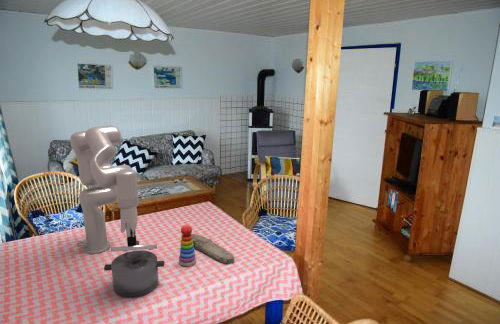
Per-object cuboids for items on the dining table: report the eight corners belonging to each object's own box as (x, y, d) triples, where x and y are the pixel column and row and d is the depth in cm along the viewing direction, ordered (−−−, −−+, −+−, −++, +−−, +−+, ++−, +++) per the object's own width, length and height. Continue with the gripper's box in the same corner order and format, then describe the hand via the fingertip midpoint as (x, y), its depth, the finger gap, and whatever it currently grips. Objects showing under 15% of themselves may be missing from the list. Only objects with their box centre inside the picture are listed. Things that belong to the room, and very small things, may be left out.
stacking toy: (199, 262, 165) (198, 226, 161) (185, 269, 160) (183, 231, 155) (189, 256, 171) (188, 220, 166) (175, 262, 165) (174, 225, 161)
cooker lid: (105, 251, 135) (106, 242, 136) (116, 251, 152) (116, 242, 153) (154, 248, 138) (154, 239, 138) (159, 248, 155) (159, 240, 156)
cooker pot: (101, 300, 137) (98, 273, 134) (112, 273, 156) (110, 248, 153) (163, 295, 141) (162, 269, 138) (166, 269, 160) (165, 245, 157)
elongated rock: (223, 270, 162) (239, 263, 169) (224, 260, 161) (240, 253, 168) (179, 241, 185) (194, 236, 192) (180, 232, 184) (195, 227, 191)
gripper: (122, 195, 142) (125, 237, 146) (114, 209, 128) (118, 255, 132) (141, 194, 143) (144, 236, 148) (135, 207, 129) (139, 253, 133)
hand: (132, 245), depth 140 cm, fingers closed
